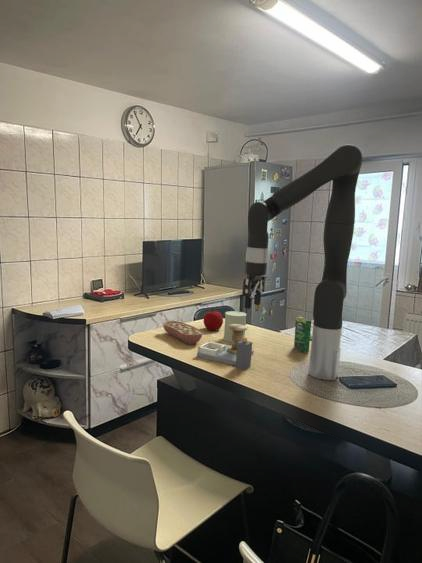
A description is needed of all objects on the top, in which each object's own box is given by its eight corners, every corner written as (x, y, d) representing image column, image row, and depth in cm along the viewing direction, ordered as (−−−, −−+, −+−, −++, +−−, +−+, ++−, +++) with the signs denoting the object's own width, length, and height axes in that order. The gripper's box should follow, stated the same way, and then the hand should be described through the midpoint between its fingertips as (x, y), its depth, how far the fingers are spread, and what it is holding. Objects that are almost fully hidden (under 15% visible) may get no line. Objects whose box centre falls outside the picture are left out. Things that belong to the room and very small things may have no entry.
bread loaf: (159, 333, 180) (159, 322, 180) (178, 331, 186) (179, 320, 185) (187, 348, 162) (187, 335, 161) (207, 345, 168) (208, 333, 167)
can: (248, 339, 178) (250, 312, 177) (238, 344, 171) (240, 316, 169) (230, 335, 183) (231, 309, 181) (219, 339, 175) (221, 312, 174)
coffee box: (292, 347, 171) (295, 316, 169) (299, 346, 172) (301, 316, 170) (302, 353, 164) (305, 321, 162) (309, 353, 165) (312, 320, 163)
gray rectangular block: (250, 366, 145) (252, 337, 143) (246, 370, 141) (248, 340, 140) (240, 364, 147) (242, 335, 145) (235, 367, 143) (237, 338, 142)
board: (253, 353, 159) (253, 345, 159) (236, 365, 145) (237, 356, 145) (216, 346, 166) (216, 337, 166) (196, 356, 152) (197, 347, 152)
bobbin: (248, 350, 158) (250, 326, 157) (241, 355, 152) (243, 329, 151) (231, 346, 161) (233, 323, 160) (224, 351, 155) (225, 326, 154)
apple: (215, 333, 185) (216, 311, 184) (198, 329, 190) (200, 308, 189) (226, 329, 193) (227, 308, 192) (209, 325, 198) (211, 305, 196)
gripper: (258, 263, 135) (254, 311, 138) (273, 260, 148) (269, 305, 150) (237, 260, 139) (234, 307, 141) (254, 258, 151) (250, 301, 153)
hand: (252, 306), depth 146 cm, fingers open, 8 cm apart
